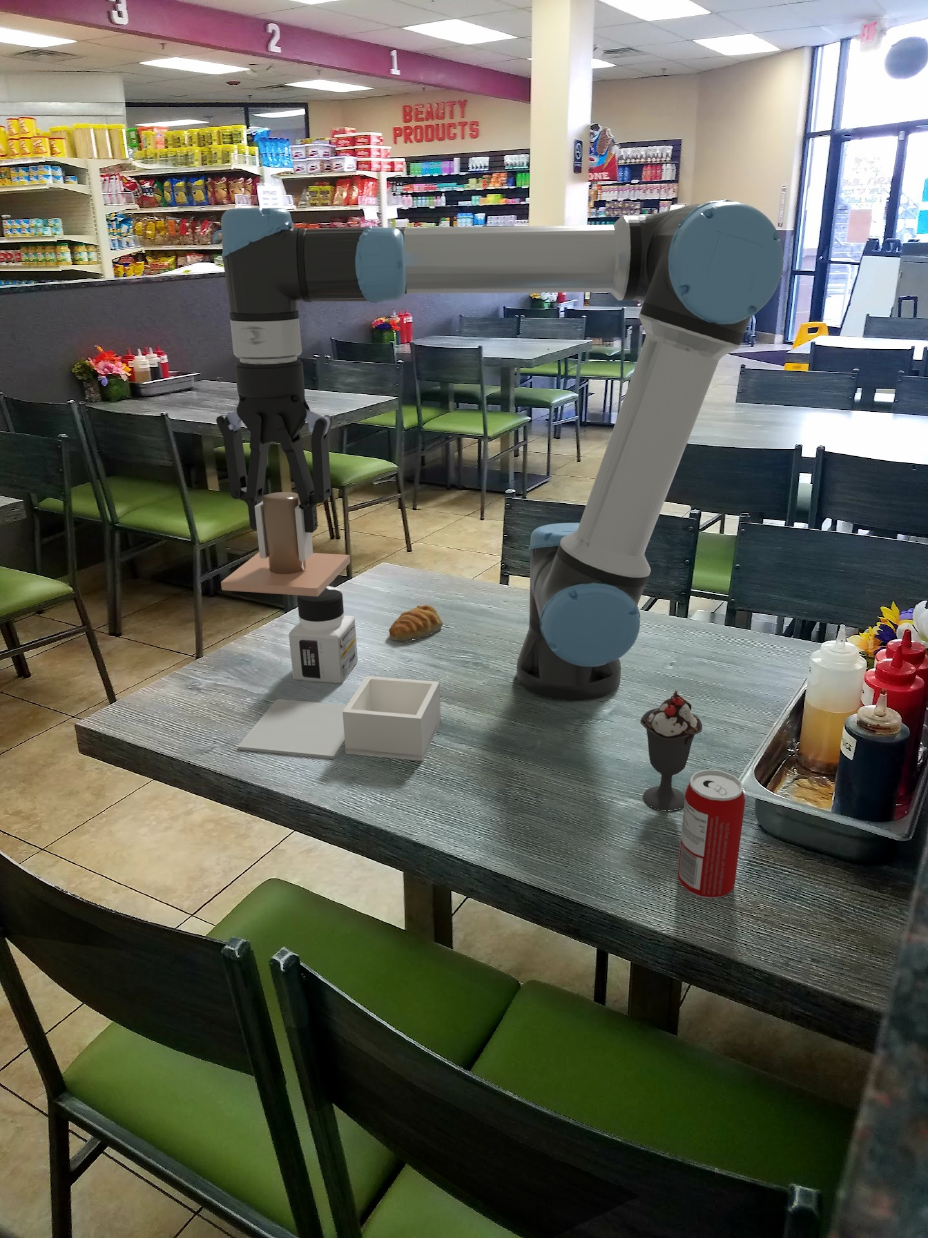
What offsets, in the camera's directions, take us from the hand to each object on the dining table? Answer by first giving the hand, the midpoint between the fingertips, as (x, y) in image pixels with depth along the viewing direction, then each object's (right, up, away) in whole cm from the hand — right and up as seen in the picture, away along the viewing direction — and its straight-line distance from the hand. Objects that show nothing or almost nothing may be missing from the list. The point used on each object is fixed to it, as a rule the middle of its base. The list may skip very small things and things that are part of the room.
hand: (286, 555), depth 110 cm
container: (+1, -16, +26) cm, 30 cm away
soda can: (+46, -34, -20) cm, 61 cm away
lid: (0, -2, +1) cm, 3 cm away
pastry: (+14, -10, +39) cm, 42 cm away
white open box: (+13, -23, +7) cm, 27 cm away
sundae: (+45, -29, -7) cm, 54 cm away
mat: (0, -22, +10) cm, 24 cm away
